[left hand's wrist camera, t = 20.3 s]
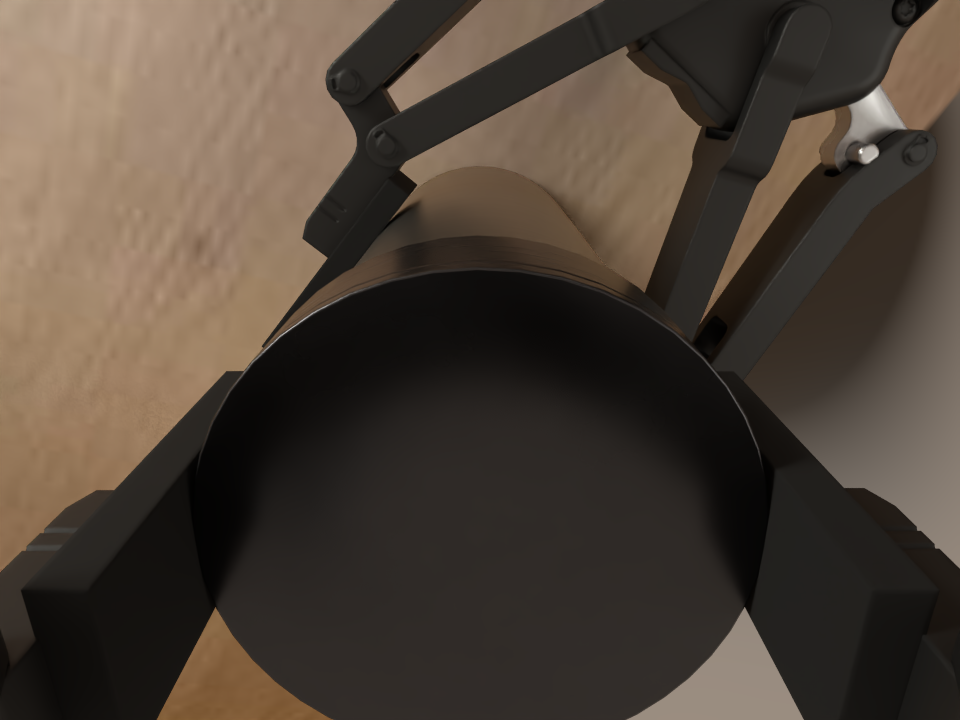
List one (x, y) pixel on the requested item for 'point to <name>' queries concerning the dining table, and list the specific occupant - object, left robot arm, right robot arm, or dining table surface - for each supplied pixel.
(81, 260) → the dining table surface
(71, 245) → the dining table surface
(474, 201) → the jar
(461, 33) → the dining table surface
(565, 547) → the lid
